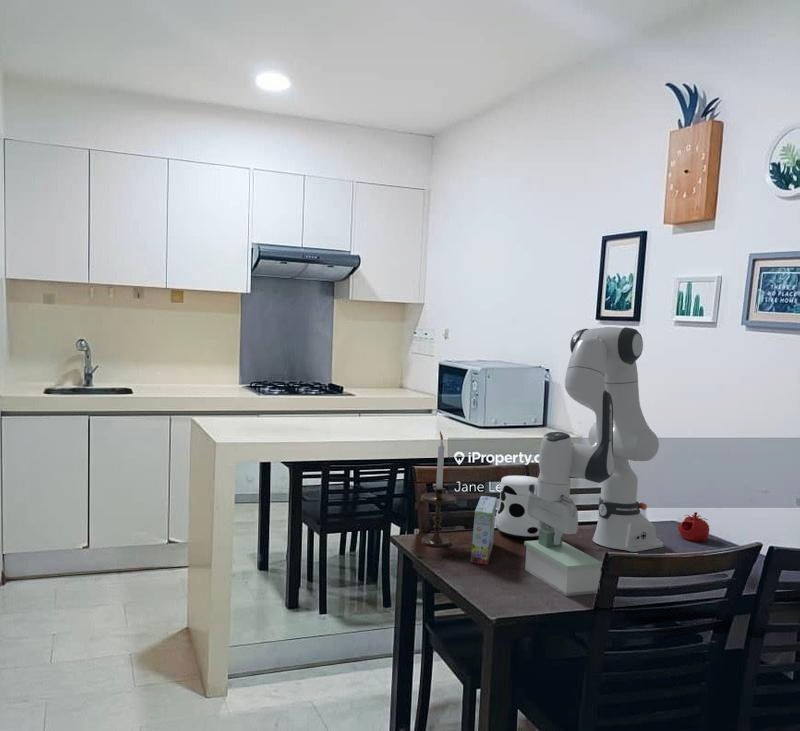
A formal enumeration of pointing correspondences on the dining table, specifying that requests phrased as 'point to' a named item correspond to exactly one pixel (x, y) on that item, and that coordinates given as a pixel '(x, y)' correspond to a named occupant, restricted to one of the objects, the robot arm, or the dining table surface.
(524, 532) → the spotted dog treat jar
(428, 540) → the candlestick
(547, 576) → the tub
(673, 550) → the dining table surface
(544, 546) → the lid
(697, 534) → the pomegranate
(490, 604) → the dining table surface
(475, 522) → the snack box
